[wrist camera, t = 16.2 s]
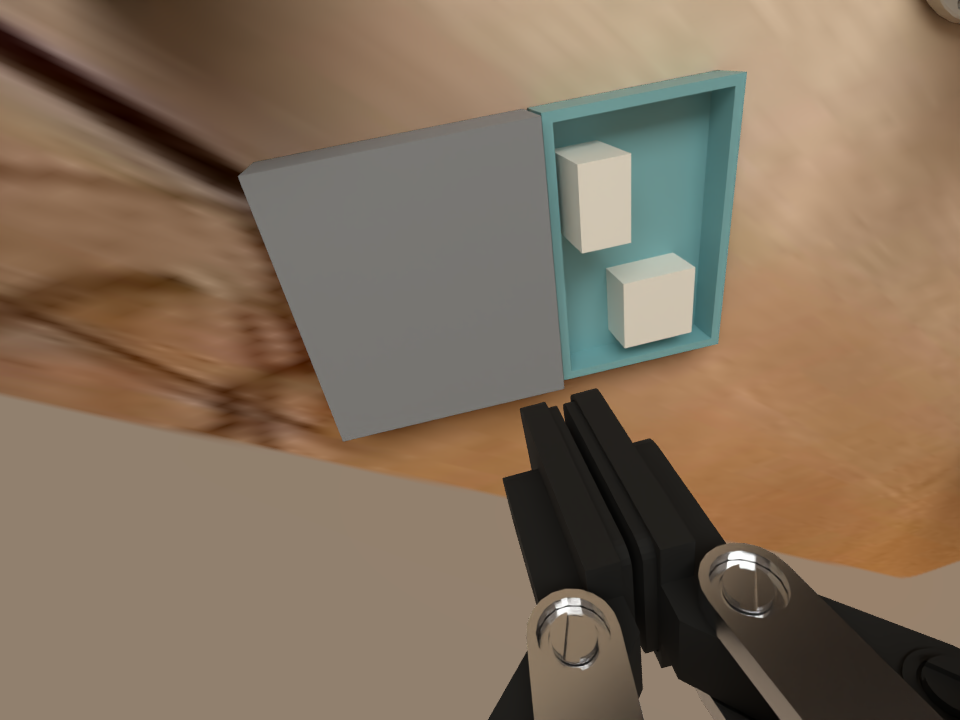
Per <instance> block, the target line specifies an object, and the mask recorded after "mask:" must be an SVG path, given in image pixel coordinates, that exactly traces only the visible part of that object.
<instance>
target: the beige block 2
mask: <svg viewBox="0 0 960 720" xmlns="http://www.w3.org/2000/svg"><path fill="white" fill-rule="evenodd" d="M606 281H607V307H608V329H609V331H610V332H611V333H612V334H613V335H614V336H615V338H616V339H617V340H618V341H619V342H620V343H621V345H622V346H623V347H624V348H628V347H633V346H637V345H641V344H645V343H649V342H653V341H657V340H661V339H665V338H669V337H674V336H678V335H682V334H686V333H690V332H691V330H692V314H693V298H694V281H695V267H694V266H693V265H691V264H690V263H688V262H687V261H685V260H684V259H682V258H681V257H679V256H678V255H676V254H675V253H669V254H664V255H660V256H656V257H652V258H647V259H643V260H639V261H634V262H630V263H626V264H621V265H617V266H613V267H609V268H606Z"/></svg>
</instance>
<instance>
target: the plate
mask: <svg viewBox="0 0 960 720" xmlns="http://www.w3.org/2000/svg"><path fill="white" fill-rule="evenodd" d="M238 178H239V181H240V183H241V186H242V188H243V191H244V193H245V196H246V198H247V201H248V203H249V206H250V208H251V211H252V213H253V216H254V218H255V221H256V223H257V226H258V228H259V231H260V233H261V236H262V238H263V241H264V243H265V246H266V249H267V251H268V254H269V256H270V259H271V261H272V264H273V266H274V269H275V271H276V274H277V276H278V279H279V281H280V284H281V286H282V289H283V291H284V294H285V296H286V299H287V301H288V304H289V306H290V309H291V311H292V314H293V317H294V319H295V322H296V324H297V327H298V329H299V332H300V334H301V337H302V339H303V342H304V344H305V347H306V349H307V352H308V354H309V357H310V359H311V362H312V364H313V367H314V369H315V372H316V374H317V377H318V379H319V382H320V384H321V387H322V390H323V392H324V395H325V397H326V400H327V402H328V405H329V407H330V410H331V412H332V415H333V417H334V420H335V422H336V425H337V427H338V430H339V432H340V435H341V437H342V440H343V441H347V440H351V439H356V438H360V437H364V436H368V435H372V434H377V433H381V432H385V431H389V430H393V429H398V428H402V427H406V426H410V425H414V424H419V423H423V422H427V421H431V420H435V419H440V418H444V417H448V416H452V415H456V414H460V413H465V412H469V411H473V410H477V409H481V408H486V407H490V406H494V405H498V404H502V403H507V402H511V401H515V400H519V399H523V398H528V397H532V396H536V395H540V394H544V393H549V392H553V391H557V390H561V389H564V379H563V367H562V355H561V343H560V332H559V320H558V308H557V297H556V285H555V273H554V262H553V250H552V238H551V226H550V215H549V203H548V191H547V180H546V168H545V156H544V144H543V133H542V121H541V116H540V115H537V114H535V113H532V112H529V111H527V110H524V109H520V110H515V111H509V112H504V113H499V114H494V115H489V116H484V117H479V118H474V119H469V120H464V121H459V122H454V123H449V124H444V125H439V126H434V127H429V128H424V129H419V130H414V131H409V132H404V133H399V134H394V135H389V136H384V137H379V138H374V139H369V140H363V141H358V142H353V143H348V144H343V145H338V146H333V147H328V148H323V149H318V150H313V151H308V152H303V153H298V154H293V155H288V156H283V157H278V158H273V159H268V160H263V161H258V162H253V163H252V164H251V165H250V166H249V167H248V168H247V169H246V170H245V171H243V172H242V173H241V174H240V175H239V176H238Z"/></svg>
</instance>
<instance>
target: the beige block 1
mask: <svg viewBox="0 0 960 720" xmlns="http://www.w3.org/2000/svg"><path fill="white" fill-rule="evenodd" d="M555 160H556V173H557V186H558V200H559V213H560V226H561V234H562V235H563V236H564V237H565V238H566V239H567V240H569V241H570V242H571V243H572V244H573V245H574V246H575V247H576V248H577V249H578V250H579V251H580V252H581V253H587V252H591V251H596V250H600V249H605V248H609V247H614V246H619V245H623V244H628V243H631V153H629V152H626V151H624V150H621V149H618V148H616V147H613V146H611V145H608V144H606V143H603V142H600V141H598V140H595V141H590V142H585V143H580V144H575V145H570V146H565V147H560V148H556V149H555Z"/></svg>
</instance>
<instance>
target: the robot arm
mask: <svg viewBox="0 0 960 720" xmlns="http://www.w3.org/2000/svg"><path fill="white" fill-rule="evenodd" d="M927 3H928V4H929V5H930V6H931V7H932V8H933V10H934V11H935V12H936V13H937V14H938V15H940V16H941V17H943V18H945V19H946V20H948V21H950V22H954V23H958V24H960V0H927ZM563 410H564V417H565V421H564V419H563V417H562V415H561V413H560V411H559V409H558V407H557V406H554V407H550V408H548V406H547V404H546V403H545V402H542V403H539V404H535V405H531V406H527V407H524V408H520V413H521V418H522V423H523V428H524V433H525V438H526V443H527V448H528V453H529V458H530V464H531V469H532V470H531V471H527V472H523V473H520V474H516V475H512V476H509V477H505V478H503V483H504V487H505V491H506V495H507V499H508V503H509V507H510V511H511V515H512V519H513V523H514V526H515V530H516V534H517V537H518V541H519V544H520V548H521V551H522V555H523V558H524V562H525V566H526V569H527V573H528V576H529V580H530V583H531V587H532V590H533V594H534V597H535V601H536V605H537V606H536V607H535V608H534V609H533V611H532V613H531V615H530V618H529V620H528V623H527V636H526V639H527V649H528V651H527V652H526V654H525V656H524V658H523V659H522V661H521V663H520V665H519V667H518V668H517V670H516V672H515V674H514V675H513V677H512V679H511V680H510V682H509V684H508V686H507V687H506V689H505V691H504V693H503V695H502V696H501V698H500V700H499V702H498V703H497V705H496V707H495V708H494V710H493V712H492V714H491V715H490V717H489V719H488V720H644V718H643V714H642V710H641V706H640V702H639V697H640V694H641V692H642V689H643V686H642V668H641V667H642V666H641V647H642V649H643V651H644V652H645V653H649V652H652V651H654V653H655V654H656V657H657V659H658V661H659V664H660V666H661V668H664V667H668V666H671V665H672V667H673V669H674V671H675V673H676V675H677V677H678V679H680V680H682V681H683V682H686V683H687V684H689V685H691V686H693V687H695V689H696V691H697V693H698V695H699V697H700V699H701V701H702V702H703V703H704V705H705V707H706V708H707V710H708V711H709V713H710V714H711V716H712V718H713V719H714V720H960V649H959V648H957V647H955V646H953V645H950V644H948V643H945V642H943V641H940V640H937V639H935V638H932V637H929V636H926V635H924V634H921V633H918V632H916V631H913V630H910V629H908V628H905V627H903V626H900V625H897V624H895V623H892V622H889V621H887V620H884V619H881V618H879V617H876V616H873V615H871V614H868V613H866V612H863V611H860V610H858V609H855V608H852V607H850V606H847V605H844V604H842V603H839V602H836V601H833V600H831V599H828V598H826V597H823V596H820V595H818V594H817V593H816V592H815V591H814V590H813V589H812V588H811V587H810V586H809V585H808V584H807V583H806V582H805V581H804V580H803V579H802V578H801V577H800V576H799V575H798V574H797V573H796V572H795V571H794V570H793V569H792V568H791V567H790V566H788V564H786V563H785V562H784V561H783V560H781V559H780V558H779V557H777V556H776V555H775V554H773V553H771V552H769V551H767V550H765V549H763V548H761V547H758V546H754V545H750V544H746V543H728V544H726V543H725V541H724V540H723V538H722V537H721V535H720V534H719V533H718V531H717V530H716V528H715V527H714V525H713V524H712V523H711V521H710V520H709V518H708V517H707V515H706V514H705V513H704V511H703V510H702V508H701V507H700V505H699V504H698V503H697V501H696V500H695V498H694V497H693V495H692V494H691V493H690V491H689V490H688V488H687V487H686V486H685V484H684V483H683V481H682V480H681V478H680V477H679V476H678V474H677V473H676V471H675V470H674V468H673V467H672V466H671V464H670V463H669V461H668V460H667V458H666V457H665V456H664V454H663V453H662V451H661V450H660V448H659V447H658V446H657V444H656V443H655V442H654V441H653V440H651V439H645V440H642V441H638V442H634V443H632V441H631V440H630V438H629V437H628V435H627V433H626V432H625V430H624V429H623V427H622V426H621V424H620V423H619V421H618V419H617V418H616V416H615V415H614V413H613V412H612V410H611V409H610V407H609V405H608V404H607V402H606V401H605V399H604V398H603V396H602V395H601V393H600V392H599V390H598V389H596V388H595V389H591V390H588V391H584V392H580V393H576V394H573V395H571V402H569V403H565V404H563ZM640 645H641V647H640Z"/></svg>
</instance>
